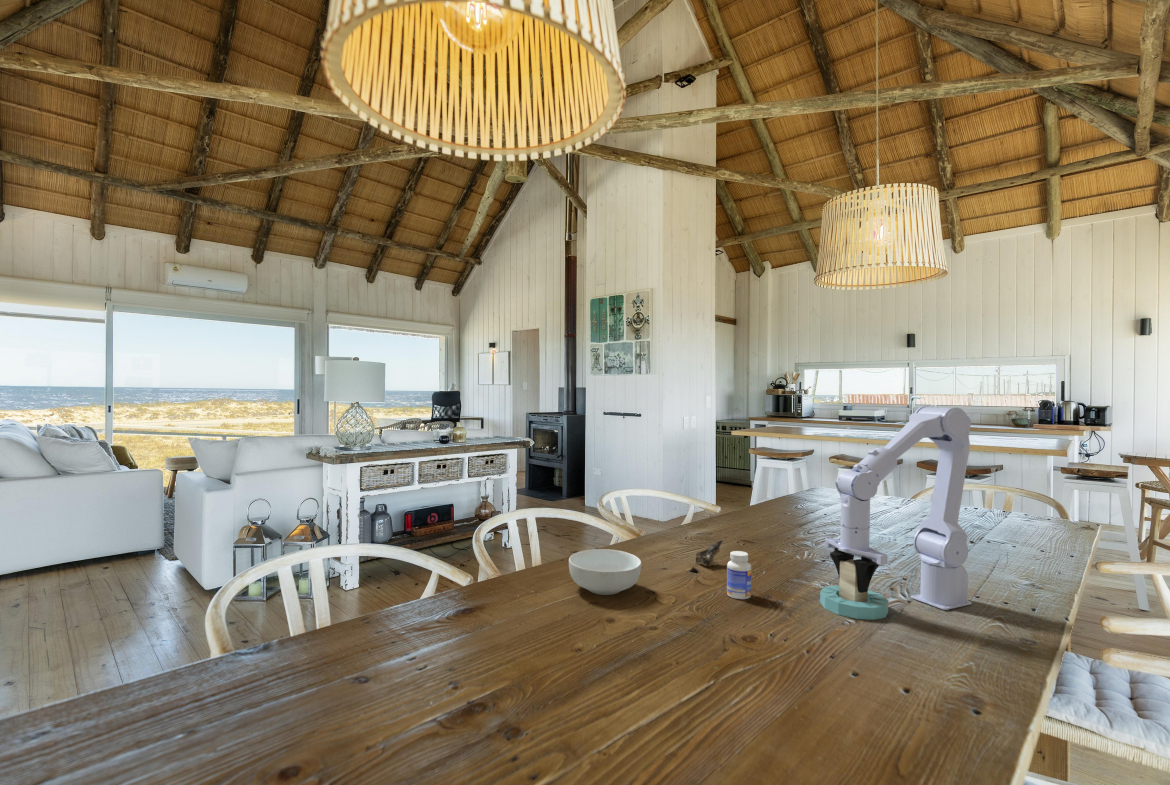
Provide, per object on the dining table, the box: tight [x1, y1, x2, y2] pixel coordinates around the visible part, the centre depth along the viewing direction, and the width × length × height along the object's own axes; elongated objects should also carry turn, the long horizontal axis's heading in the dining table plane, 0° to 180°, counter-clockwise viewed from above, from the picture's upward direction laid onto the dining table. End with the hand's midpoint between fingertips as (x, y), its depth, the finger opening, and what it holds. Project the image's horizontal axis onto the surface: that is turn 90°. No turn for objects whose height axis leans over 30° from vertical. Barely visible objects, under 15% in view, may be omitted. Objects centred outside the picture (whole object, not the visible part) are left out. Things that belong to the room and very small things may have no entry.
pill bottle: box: [726, 550, 752, 600], centre depth 128 cm, size 5×5×10 cm
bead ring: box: [819, 584, 889, 621], centre depth 122 cm, size 13×13×2 cm
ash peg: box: [838, 558, 868, 602], centre depth 122 cm, size 4×4×8 cm
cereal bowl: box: [568, 548, 642, 596], centre depth 131 cm, size 17×17×7 cm
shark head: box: [695, 540, 723, 567], centre depth 151 cm, size 8×6×7 cm
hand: (853, 588), depth 122 cm, fingers closed on ash peg, 4 cm apart
